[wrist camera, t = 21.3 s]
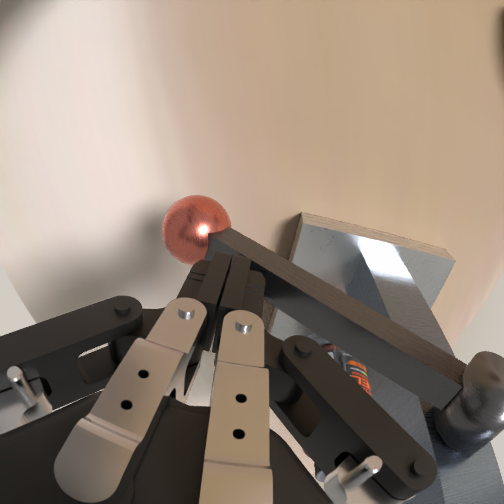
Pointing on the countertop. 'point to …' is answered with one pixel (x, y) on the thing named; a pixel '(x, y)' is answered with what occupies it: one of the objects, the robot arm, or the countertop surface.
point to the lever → (354, 327)
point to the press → (408, 316)
